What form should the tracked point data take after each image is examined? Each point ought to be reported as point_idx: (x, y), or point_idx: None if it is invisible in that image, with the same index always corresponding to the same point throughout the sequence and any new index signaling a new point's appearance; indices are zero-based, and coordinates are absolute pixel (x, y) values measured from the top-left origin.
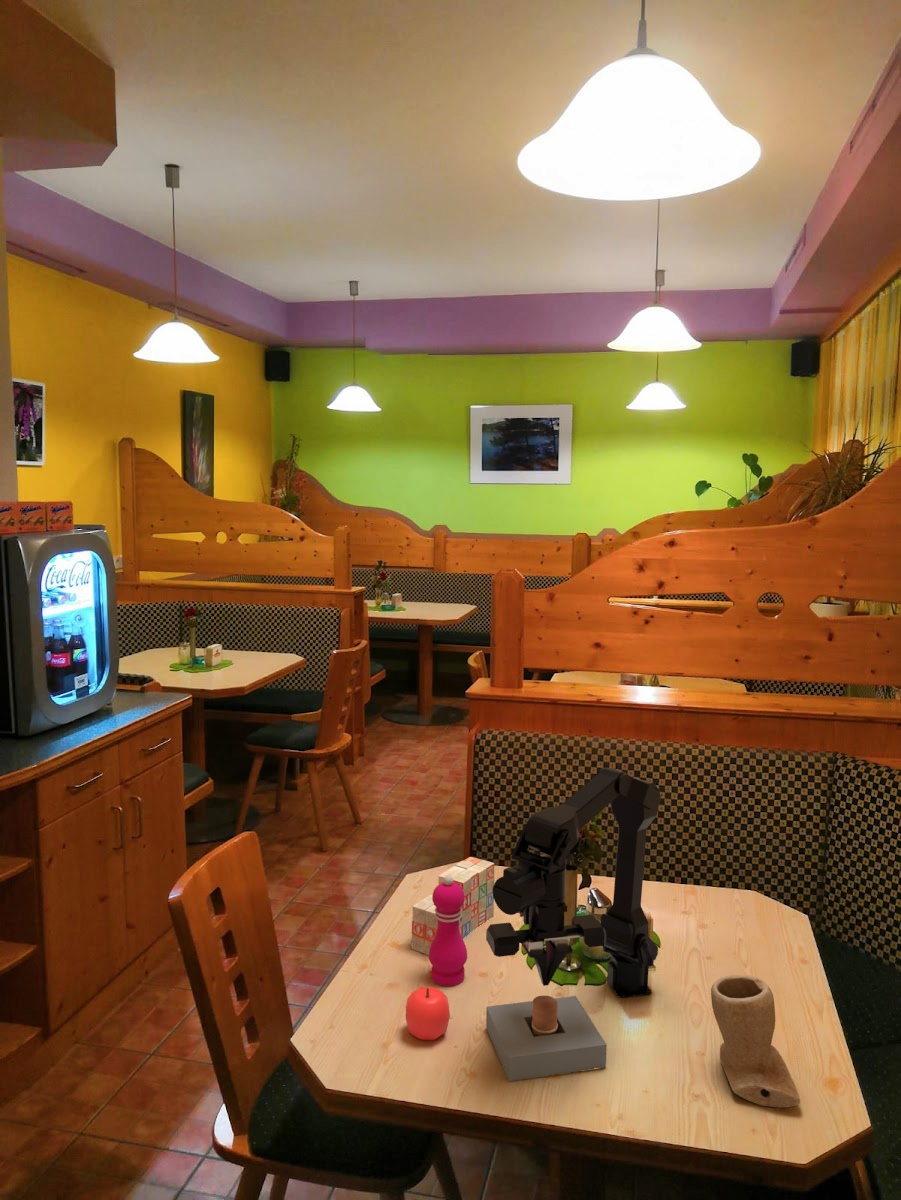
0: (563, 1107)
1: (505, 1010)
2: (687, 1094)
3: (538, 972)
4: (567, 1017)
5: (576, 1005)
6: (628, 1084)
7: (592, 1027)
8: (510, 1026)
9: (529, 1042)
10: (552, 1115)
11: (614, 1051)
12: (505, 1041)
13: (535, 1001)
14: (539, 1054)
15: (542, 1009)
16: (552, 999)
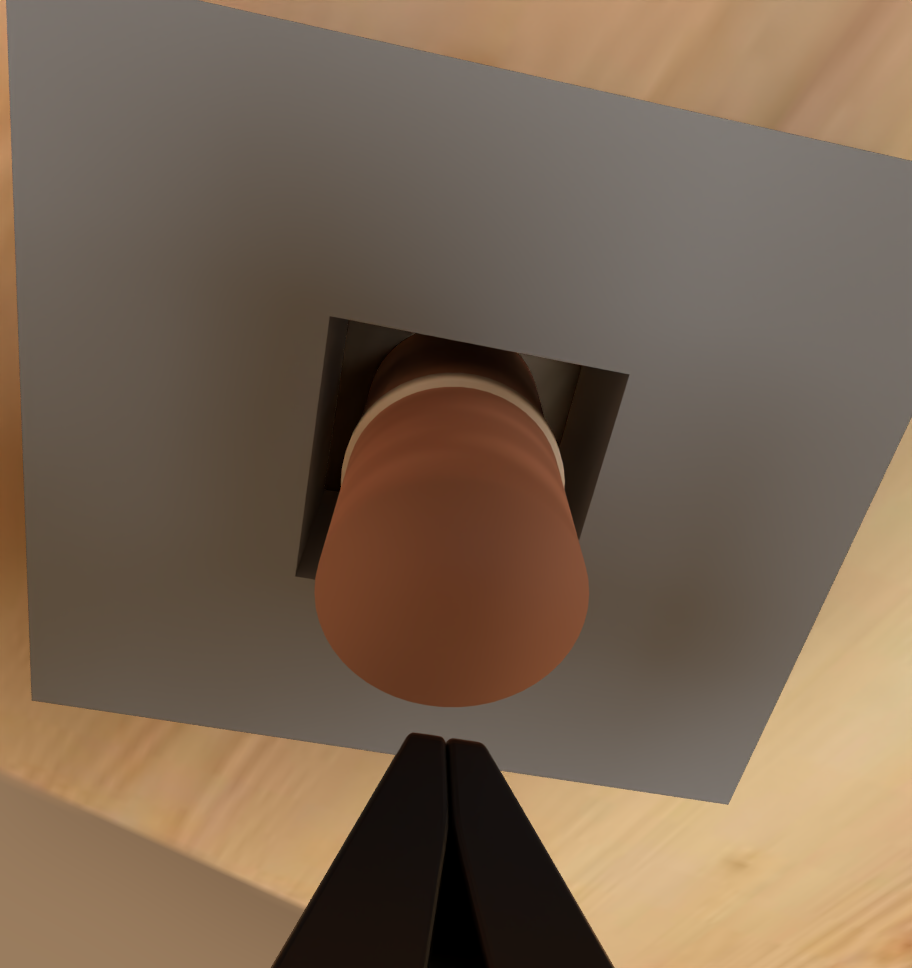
0: (310, 824)
1: (195, 129)
2: (885, 929)
3: (347, 840)
4: (693, 468)
5: (894, 342)
6: (699, 811)
7: (779, 641)
8: (155, 393)
9: (235, 617)
10: (237, 843)
11: (837, 598)
12: (53, 545)
13: (356, 552)
14: (256, 729)
15: (365, 680)
16: (556, 588)
